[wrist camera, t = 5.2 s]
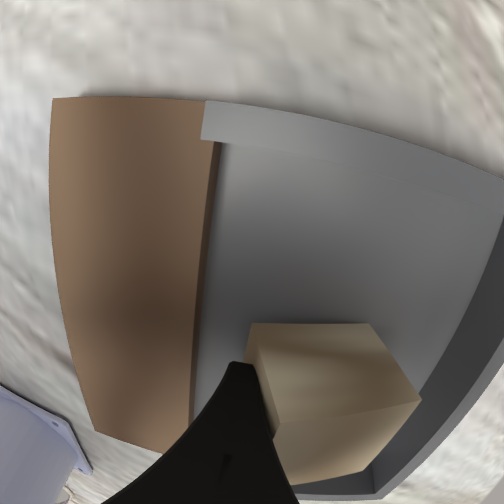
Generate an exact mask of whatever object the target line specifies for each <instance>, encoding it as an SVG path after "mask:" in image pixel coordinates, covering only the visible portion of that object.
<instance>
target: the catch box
mask: <svg viewBox="0 0 504 504" xmlns="http://www.w3.org/2000/svg"><path fill="white" fill-rule="evenodd" d="M200 139H201V140H209V141H216V142H222V147H221V154H220V161H219V168H218V175H217V182H216V190H215V197H214V205H213V213H212V221H211V229H210V237H209V246H208V255H207V264H206V273H205V282H204V292H203V302H202V313H201V323H200V335H199V347H198V359H197V372H196V386H195V401H194V417H193V421H194V420H195V419H196V417H197V416H198V415H199V413H200V412H201V411H202V409H203V408H204V406H205V405H206V404H207V402H208V401H209V399H210V398H211V396H212V395H213V393H214V392H215V390H216V388H217V387H218V385H219V383H220V382H221V380H222V378H223V376H224V374H225V372H226V370H227V367H228V364H229V363H230V362H232V361H237V362H243V359H244V355H245V351H246V346H247V342H248V337H249V333H250V328H251V324H252V323H278V324H356V323H369V324H370V325H371V327H372V328H373V329H374V331H375V332H376V334H377V335H378V336H379V338H380V339H381V341H382V342H383V343H384V345H385V346H386V348H387V349H388V350H389V352H390V353H391V355H392V356H393V358H394V359H395V360H396V362H397V363H398V365H399V366H400V368H401V369H402V371H403V372H404V374H405V375H406V376H407V378H408V379H409V381H410V382H411V384H412V385H413V387H414V388H415V390H416V391H417V393H418V394H419V396H420V397H421V399H422V400H421V402H420V403H419V404H418V406H417V407H416V409H415V410H414V411H413V412H412V414H411V415H410V416H409V418H408V419H407V420H406V422H405V423H404V424H403V425H402V427H401V428H400V429H399V430H398V431H397V433H396V434H395V435H394V436H393V438H392V439H391V440H390V441H389V442H388V443H387V445H386V446H385V447H384V448H383V449H382V450H381V451H380V453H379V454H378V455H377V456H376V457H375V458H374V459H373V460H372V461H371V462H370V463H369V465H368V466H367V467H366V468H365V469H364V470H363V471H360V472H356V473H352V474H348V475H344V476H339V477H335V478H330V479H325V480H320V481H315V482H309V483H303V484H297V485H290V486H291V488H292V490H293V492H294V494H295V496H296V498H297V500H315V501H358V500H377V499H383V498H384V497H385V496H386V495H387V494H389V493H390V492H391V491H392V490H393V489H394V488H396V487H397V486H398V485H399V484H400V483H401V482H402V481H403V480H405V479H406V478H407V477H408V476H409V475H410V474H411V473H412V472H413V471H414V470H415V469H416V468H417V467H418V466H420V465H421V464H422V463H423V462H424V461H425V460H426V459H427V458H428V457H429V456H430V455H431V454H432V452H433V451H434V450H435V449H436V448H437V447H438V446H439V445H440V444H441V443H442V442H443V441H444V440H445V439H446V437H447V436H448V435H449V434H450V433H451V432H452V431H453V430H454V428H455V427H456V426H457V425H458V424H459V423H460V421H461V420H462V419H463V418H464V417H465V415H466V414H467V413H468V412H469V410H470V409H471V408H472V407H473V405H474V404H475V403H476V401H477V400H478V399H479V397H480V396H481V395H482V393H483V392H484V391H485V389H486V388H487V387H488V385H489V384H490V382H491V381H492V379H493V378H494V377H495V375H496V374H497V372H498V371H499V369H500V368H501V366H502V365H503V363H504V179H502V178H500V177H497V176H495V175H493V174H491V173H488V172H486V171H484V170H481V169H479V168H477V167H474V166H472V165H469V164H467V163H465V162H462V161H459V160H457V159H454V158H452V157H449V156H446V155H444V154H441V153H438V152H436V151H433V150H430V149H427V148H424V147H421V146H418V145H415V144H412V143H409V142H406V141H403V140H400V139H397V138H393V137H390V136H387V135H383V134H380V133H377V132H373V131H369V130H366V129H362V128H358V127H354V126H351V125H347V124H343V123H339V122H334V121H330V120H326V119H321V118H317V117H312V116H307V115H302V114H297V113H292V112H287V111H282V110H276V109H270V108H264V107H258V106H251V105H244V104H237V103H229V102H221V101H212V100H206V103H205V110H204V116H203V123H202V130H201V137H200Z"/></svg>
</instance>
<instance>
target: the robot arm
mask: <svg viewBox="0 0 504 504" xmlns="http://www.w3.org/2000/svg"><path fill="white" fill-rule="evenodd" d="M73 468H74V469H76V470H78V471H81V472H83V473H85V474H87V475H92V473H93V471H92V469H91V467H90V465H89V464H88V462H87V460H86V458H85V456H84V454H83V452H82V450H81V448H80V446H79V444H78V442H77V440H76V438H75V436H74V434H73V432H72V429H71V427H70V425H69V424H68V423H67V422H66V421H65V420H63V419H61V418H59V417H57V416H55V415H53V414H51V413H49V412H47V411H45V410H43V409H41V408H39V407H37V406H35V405H33V404H32V403H30V402H28V401H26V400H24V399H23V398H21V397H19V396H17V395H16V394H14V393H12V392H10V391H9V390H7V389H5V388H4V387H2V386H1V385H0V504H56V501H57V499H58V497H59V495H60V493H61V491H62V489H63V487H64V485H65V483H66V481H67V479H68V477H69V475H70V473H71V471H72V469H73ZM101 504H299V502H298V500H297V498H296V496H295V494H294V492H293V490H292V488H291V486H290V483H289V481H288V479H287V477H286V475H285V472H284V470H283V467H282V465H281V462H280V460H279V457H278V454H277V451H276V449H275V446H274V443H273V440H272V436H271V433H270V430H269V426H268V422H267V419H266V415H265V411H264V406H263V401H262V396H261V390H260V384H259V381H258V377H257V373H256V370H255V368H254V366H253V364H248V363H243V362H237V361H232V362H230V363H229V364H228V367H227V370H226V372H225V374H224V376H223V378H222V380H221V382H220V383H219V385H218V387H217V388H216V390H215V392H214V393H213V395H212V396H211V398H210V399H209V401H208V402H207V404H206V405H205V406H204V408H203V409H202V411H201V412H200V413H199V415H198V416H197V417H196V419H195V420H194V421H193V422H192V423H191V425H190V426H189V427H188V428H187V430H186V431H185V432H184V433H183V434H182V435H181V437H180V438H179V439H178V440H177V441H176V442H175V443H174V444H173V445H172V446H171V447H170V448H169V449H168V450H167V451H166V452H165V453H164V454H163V455H162V456H161V457H160V458H159V459H158V460H157V461H156V462H155V463H154V464H153V465H152V466H150V467H149V468H148V469H147V470H146V471H145V472H144V473H142V474H141V475H140V476H139V477H138V478H136V479H135V480H134V481H133V482H131V483H130V484H129V485H127V486H126V487H125V488H123V489H122V490H120V491H119V492H118V493H116V494H115V495H113V496H112V497H110V498H109V499H107V500H106V501H104V502H103V503H101Z"/></svg>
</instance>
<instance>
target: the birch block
mask: <svg viewBox="0 0 504 504" xmlns="http://www.w3.org/2000/svg"><path fill="white" fill-rule="evenodd" d="M243 363H248V364H253V366H254V368H255V370H256V373H257V377H258V381H259V384H260V390H261V396H262V401H263V406H264V411H265V415H266V419H267V422H268V426H269V430H270V433H271V436H272V440H273V443H274V446H275V449H276V451H277V454H278V457H279V460H280V462H281V465H282V467H283V470H284V472H285V475H286V477H287V479H288V481H289V483H290V485H297V484H303V483H309V482H315V481H320V480H325V479H330V478H335V477H339V476H344V475H348V474H352V473H356V472H360V471H363V470H364V469H365V468H366V467H367V466H368V465H369V463H370V462H371V461H372V460H373V459H374V458H375V457H376V456H377V455H378V454H379V453H380V451H381V450H382V449H383V448H384V447H385V446H386V445H387V443H388V442H389V441H390V440H391V439H392V438H393V436H394V435H395V434H396V433H397V431H398V430H399V429H400V428H401V427H402V425H403V424H404V423H405V422H406V420H407V419H408V418H409V416H410V415H411V414H412V412H413V411H414V410H415V409H416V407H417V406H418V404H419V403H420V402H421V400H422V399H421V397H420V396H419V394H418V393H417V391H416V390H415V388H414V387H413V385H412V384H411V382H410V381H409V379H408V378H407V376H406V375H405V374H404V372H403V371H402V369H401V368H400V366H399V365H398V363H397V362H396V360H395V359H394V358H393V356H392V355H391V353H390V352H389V350H388V349H387V348H386V346H385V345H384V343H383V342H382V341H381V339H380V338H379V336H378V335H377V334H376V332H375V331H374V329H373V328H372V327H371V325H370V324H369V323H356V324H278V323H252V324H251V328H250V333H249V337H248V342H247V346H246V351H245V355H244V359H243Z"/></svg>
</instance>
